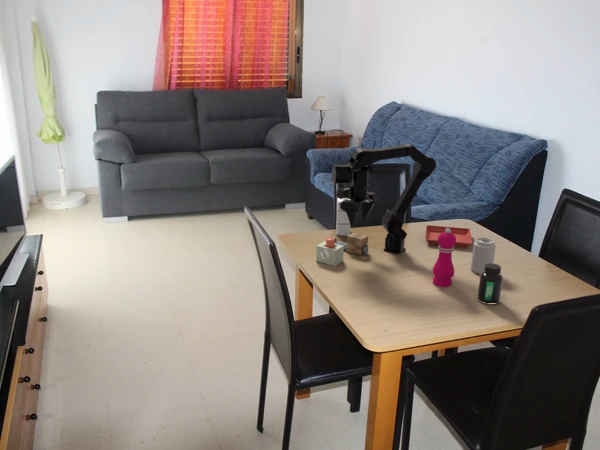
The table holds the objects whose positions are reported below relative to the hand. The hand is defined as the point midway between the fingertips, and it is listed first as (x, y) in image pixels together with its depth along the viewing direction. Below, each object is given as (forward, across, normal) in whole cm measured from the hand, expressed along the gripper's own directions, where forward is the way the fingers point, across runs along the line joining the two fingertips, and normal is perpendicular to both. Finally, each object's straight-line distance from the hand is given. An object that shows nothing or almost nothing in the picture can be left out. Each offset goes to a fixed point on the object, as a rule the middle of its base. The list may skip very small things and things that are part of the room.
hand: (358, 222), depth 225 cm
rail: (+12, 0, -3) cm, 12 cm away
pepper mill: (+12, +7, +38) cm, 40 cm away
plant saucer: (+13, -35, +23) cm, 44 cm away
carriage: (+12, 0, 0) cm, 12 cm away
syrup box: (+12, -15, -15) cm, 25 cm away
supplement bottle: (+12, +10, +55) cm, 57 cm away
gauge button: (+7, +14, -3) cm, 16 cm away
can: (+12, -12, +45) cm, 48 cm away
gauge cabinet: (+12, +14, -3) cm, 19 cm away
